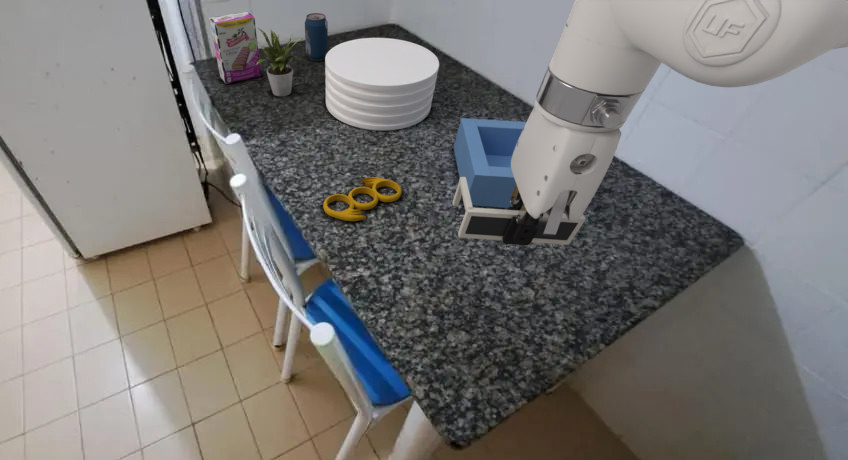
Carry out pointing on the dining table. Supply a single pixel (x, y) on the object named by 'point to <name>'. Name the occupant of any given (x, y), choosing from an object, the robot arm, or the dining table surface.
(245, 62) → the candy bar box
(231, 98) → the dining table surface
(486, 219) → the white sunglasses
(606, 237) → the dining table surface
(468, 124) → the bin
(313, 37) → the soda can
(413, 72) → the plate stack
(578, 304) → the dining table surface
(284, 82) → the house plant
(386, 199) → the yellow winged triple ring
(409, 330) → the dining table surface
